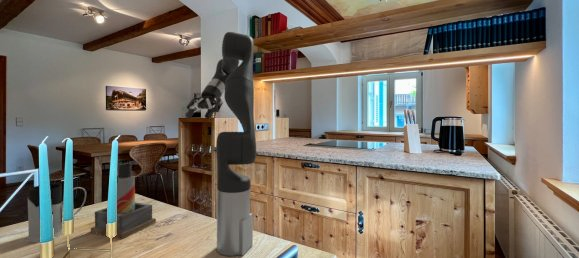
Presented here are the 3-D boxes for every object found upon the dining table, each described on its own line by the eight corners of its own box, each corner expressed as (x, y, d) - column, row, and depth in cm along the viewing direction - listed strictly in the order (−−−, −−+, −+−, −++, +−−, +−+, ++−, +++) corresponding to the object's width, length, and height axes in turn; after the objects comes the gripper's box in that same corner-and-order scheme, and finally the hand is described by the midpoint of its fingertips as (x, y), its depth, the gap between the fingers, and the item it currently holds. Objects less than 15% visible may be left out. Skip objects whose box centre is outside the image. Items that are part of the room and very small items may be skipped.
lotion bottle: (125, 227, 85) (125, 165, 84) (110, 225, 86) (109, 164, 85) (139, 220, 90) (138, 162, 90) (124, 218, 92) (124, 161, 91)
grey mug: (28, 234, 82) (26, 186, 81) (86, 223, 91) (85, 179, 90) (24, 245, 75) (23, 193, 75) (87, 231, 84) (86, 185, 84)
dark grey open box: (155, 222, 92) (155, 204, 92) (122, 239, 80) (121, 217, 80) (127, 217, 96) (126, 200, 96) (90, 232, 84) (90, 212, 84)
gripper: (196, 84, 116) (177, 110, 105) (224, 84, 111) (208, 111, 101) (203, 97, 121) (186, 123, 111) (231, 97, 117) (216, 124, 106)
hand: (197, 117), depth 106 cm, fingers open, 8 cm apart
